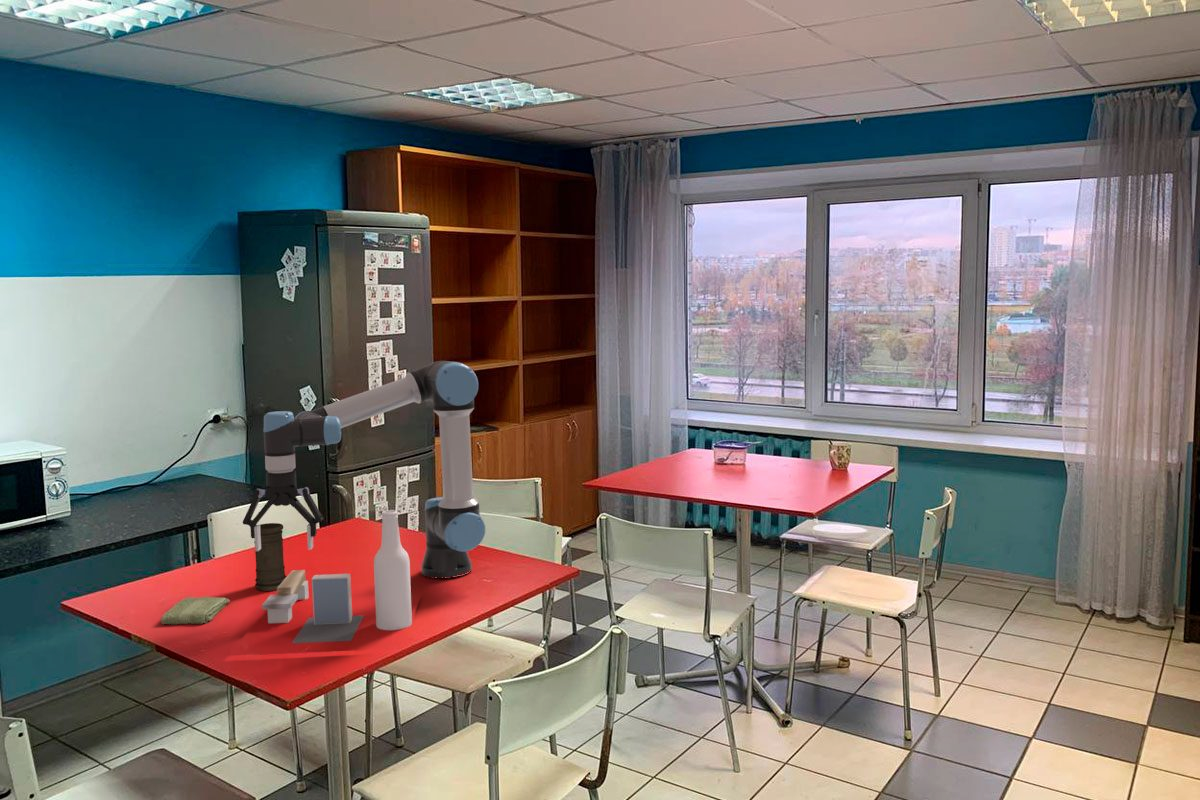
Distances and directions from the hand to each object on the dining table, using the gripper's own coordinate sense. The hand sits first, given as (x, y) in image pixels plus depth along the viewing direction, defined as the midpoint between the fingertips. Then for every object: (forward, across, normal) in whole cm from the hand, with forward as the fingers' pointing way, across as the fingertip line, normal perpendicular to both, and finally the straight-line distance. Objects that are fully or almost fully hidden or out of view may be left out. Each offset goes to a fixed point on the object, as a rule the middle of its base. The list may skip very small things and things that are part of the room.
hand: (284, 549), depth 246 cm
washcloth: (+18, +24, -1) cm, 30 cm away
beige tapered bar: (+12, -1, +1) cm, 12 cm away
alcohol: (+17, -30, +16) cm, 38 cm away
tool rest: (+17, -1, +1) cm, 17 cm away
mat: (+17, -15, +18) cm, 29 cm away
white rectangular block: (+16, -15, +12) cm, 25 cm away
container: (+17, +11, -23) cm, 31 cm away
